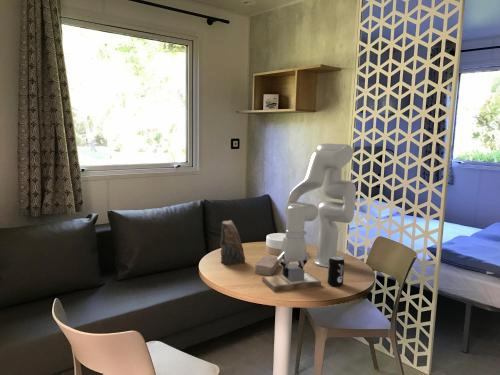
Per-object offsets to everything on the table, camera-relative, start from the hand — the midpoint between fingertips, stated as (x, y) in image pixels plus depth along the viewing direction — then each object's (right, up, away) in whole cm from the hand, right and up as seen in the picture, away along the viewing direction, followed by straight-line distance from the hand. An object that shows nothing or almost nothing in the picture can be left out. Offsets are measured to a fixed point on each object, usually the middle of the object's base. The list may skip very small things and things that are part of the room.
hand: (292, 275), depth 167 cm
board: (-1, -4, 0) cm, 4 cm away
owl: (-27, 0, +27) cm, 39 cm away
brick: (-10, -2, +18) cm, 21 cm away
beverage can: (+18, -4, +1) cm, 19 cm away
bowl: (-1, +2, +48) cm, 48 cm away
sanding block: (0, -1, 0) cm, 2 cm away
